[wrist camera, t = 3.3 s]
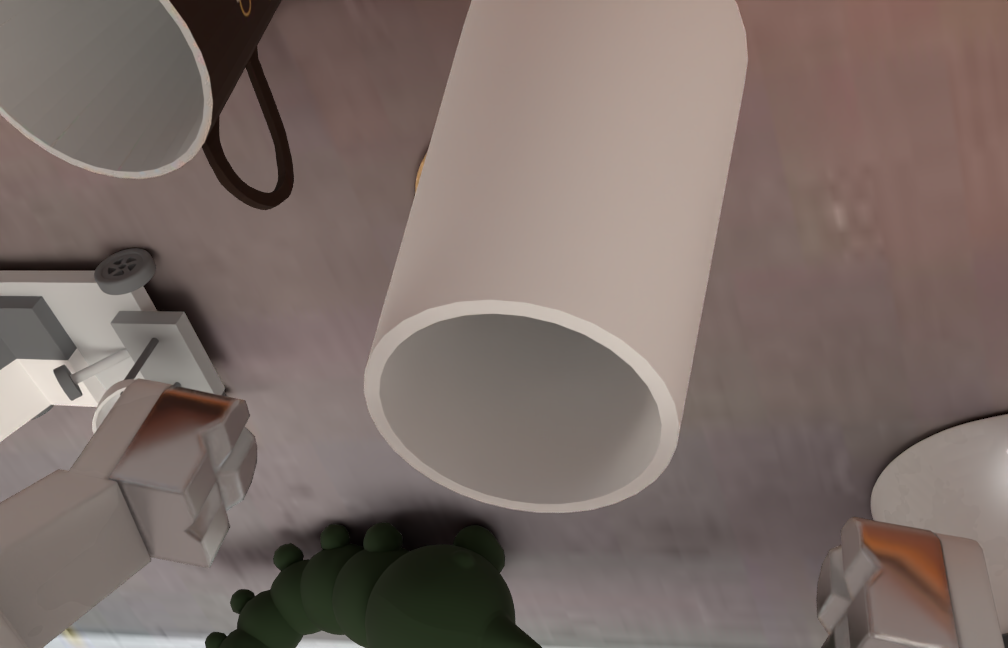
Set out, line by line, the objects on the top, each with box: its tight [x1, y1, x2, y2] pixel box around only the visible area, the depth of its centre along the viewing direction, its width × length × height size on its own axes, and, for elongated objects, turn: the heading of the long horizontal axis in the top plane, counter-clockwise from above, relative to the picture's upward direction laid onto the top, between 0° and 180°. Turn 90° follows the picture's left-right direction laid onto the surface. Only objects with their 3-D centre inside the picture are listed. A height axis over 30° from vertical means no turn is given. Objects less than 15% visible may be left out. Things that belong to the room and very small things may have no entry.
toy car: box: [0, 248, 226, 443], centre depth 49 cm, size 18×10×12 cm
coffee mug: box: [0, 0, 294, 210], centre depth 32 cm, size 12×9×10 cm
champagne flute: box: [364, 0, 748, 513], centre depth 22 cm, size 7×7×24 cm
